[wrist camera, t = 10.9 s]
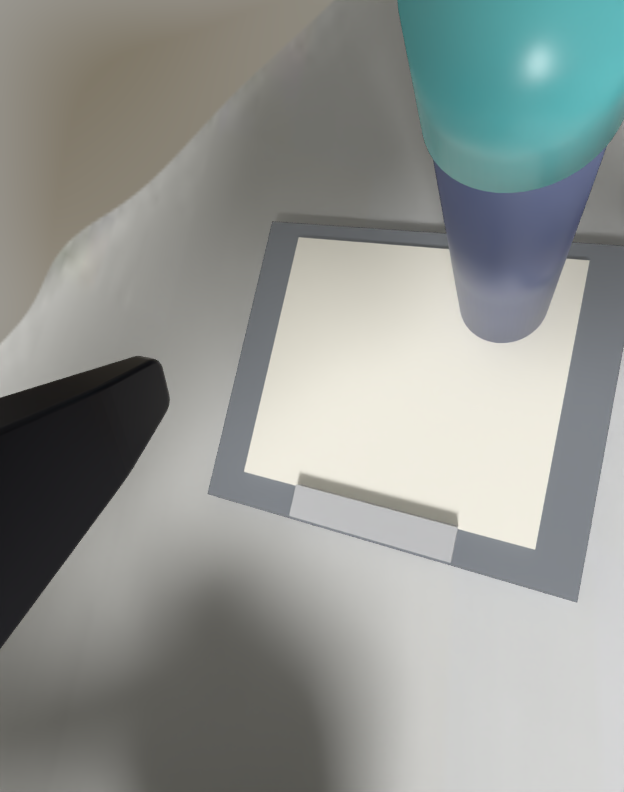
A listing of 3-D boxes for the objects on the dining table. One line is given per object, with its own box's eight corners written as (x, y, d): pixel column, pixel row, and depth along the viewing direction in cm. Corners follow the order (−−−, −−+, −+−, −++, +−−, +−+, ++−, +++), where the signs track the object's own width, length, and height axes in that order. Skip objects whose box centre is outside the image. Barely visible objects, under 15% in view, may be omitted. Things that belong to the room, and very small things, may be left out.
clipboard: (574, 598, 17) (580, 607, 16) (214, 493, 22) (198, 494, 21) (636, 254, 18) (647, 238, 17) (277, 227, 23) (265, 213, 21)
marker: (523, 360, 18) (600, 113, 6) (441, 323, 19) (353, 49, 7) (569, 279, 18) (749, -154, 5) (483, 247, 19) (472, -174, 7)
